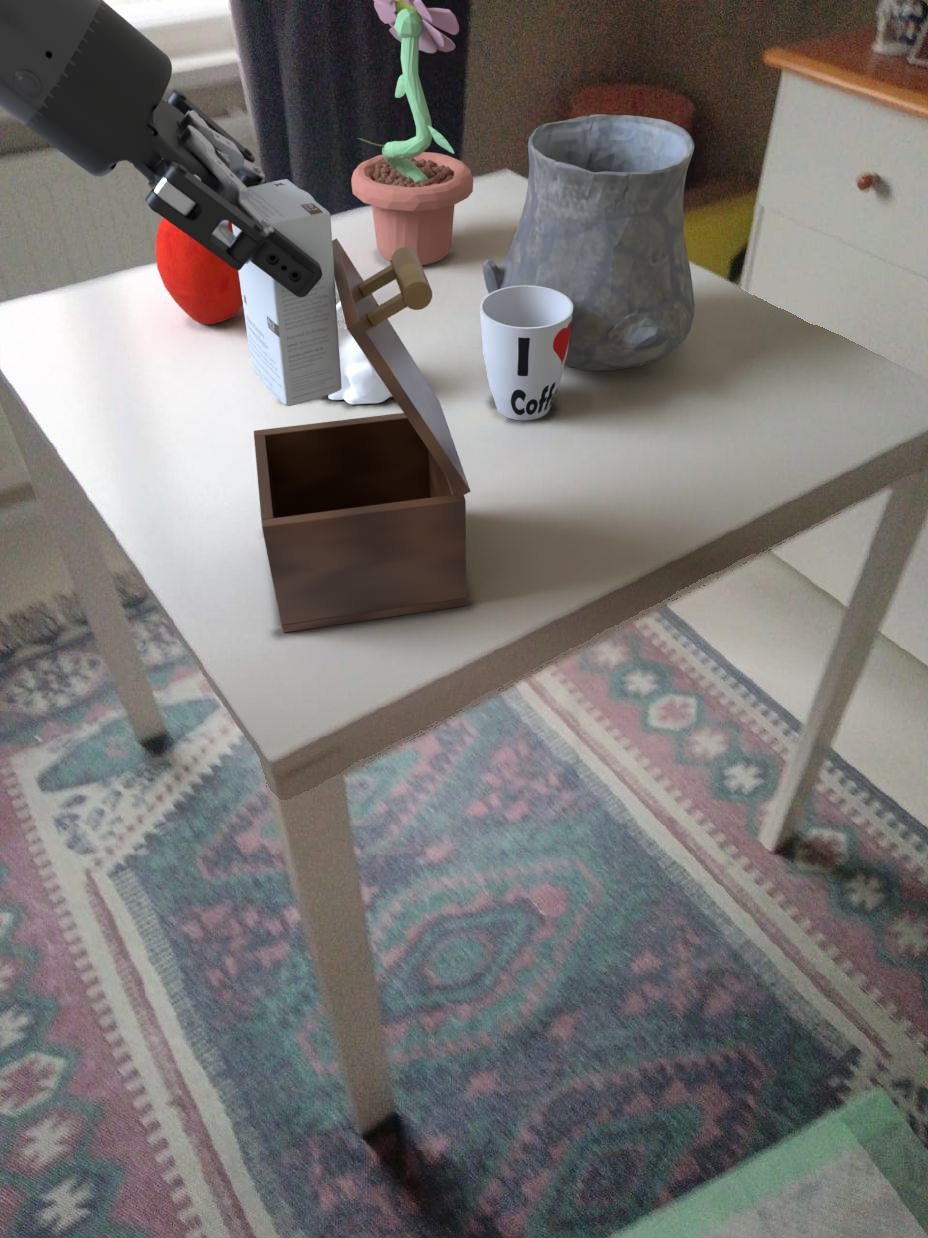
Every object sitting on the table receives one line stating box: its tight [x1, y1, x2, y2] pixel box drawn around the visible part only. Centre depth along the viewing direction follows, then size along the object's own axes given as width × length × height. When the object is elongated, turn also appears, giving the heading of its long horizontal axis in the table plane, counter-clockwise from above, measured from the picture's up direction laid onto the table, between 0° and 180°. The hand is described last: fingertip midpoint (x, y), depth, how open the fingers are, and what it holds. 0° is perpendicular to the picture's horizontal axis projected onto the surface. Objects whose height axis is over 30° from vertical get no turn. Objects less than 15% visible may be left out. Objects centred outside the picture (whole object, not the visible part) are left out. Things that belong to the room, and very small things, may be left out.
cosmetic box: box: [232, 178, 342, 407], centre depth 62 cm, size 6×4×12 cm
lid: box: [332, 238, 471, 497], centre depth 64 cm, size 14×12×5 cm
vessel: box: [482, 113, 696, 371], centre depth 93 cm, size 22×22×20 cm
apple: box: [155, 217, 243, 325], centre depth 101 cm, size 10×10×12 cm
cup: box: [479, 285, 573, 421], centre depth 89 cm, size 8×8×10 cm
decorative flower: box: [350, 0, 474, 266], centre depth 106 cm, size 15×14×30 cm
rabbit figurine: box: [327, 282, 393, 405], centre depth 92 cm, size 12×8×10 cm, turn 79°
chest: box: [253, 412, 468, 633], centre depth 72 cm, size 14×12×10 cm
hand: (307, 257), depth 61 cm, fingers closed on cosmetic box, 7 cm apart
